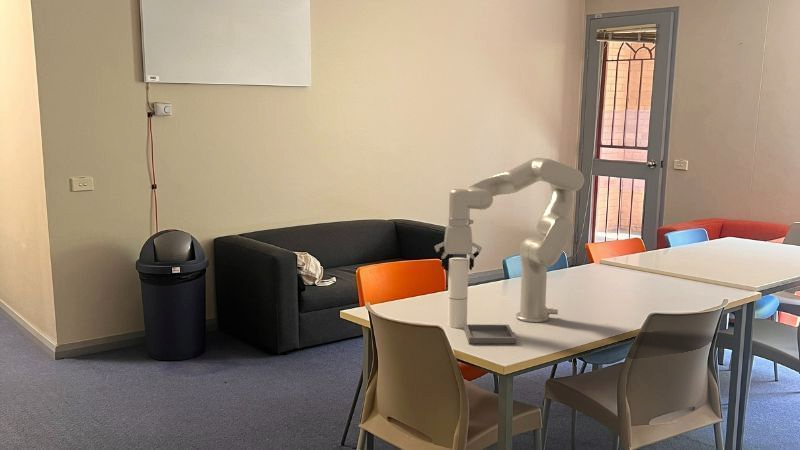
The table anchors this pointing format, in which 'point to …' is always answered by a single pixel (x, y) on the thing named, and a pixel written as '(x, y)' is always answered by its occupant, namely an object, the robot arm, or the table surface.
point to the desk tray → (489, 335)
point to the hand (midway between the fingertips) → (457, 269)
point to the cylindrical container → (457, 292)
